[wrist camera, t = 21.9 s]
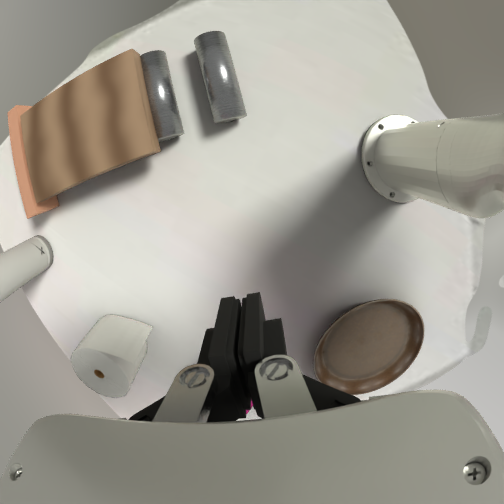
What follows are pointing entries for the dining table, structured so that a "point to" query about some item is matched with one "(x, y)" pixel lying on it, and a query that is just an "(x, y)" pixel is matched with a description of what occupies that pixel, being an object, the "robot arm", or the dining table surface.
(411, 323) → the plant saucer
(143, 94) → the slab
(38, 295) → the dining table surface
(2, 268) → the travel mug
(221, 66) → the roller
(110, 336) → the toilet tissue
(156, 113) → the middle roller
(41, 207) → the bar
